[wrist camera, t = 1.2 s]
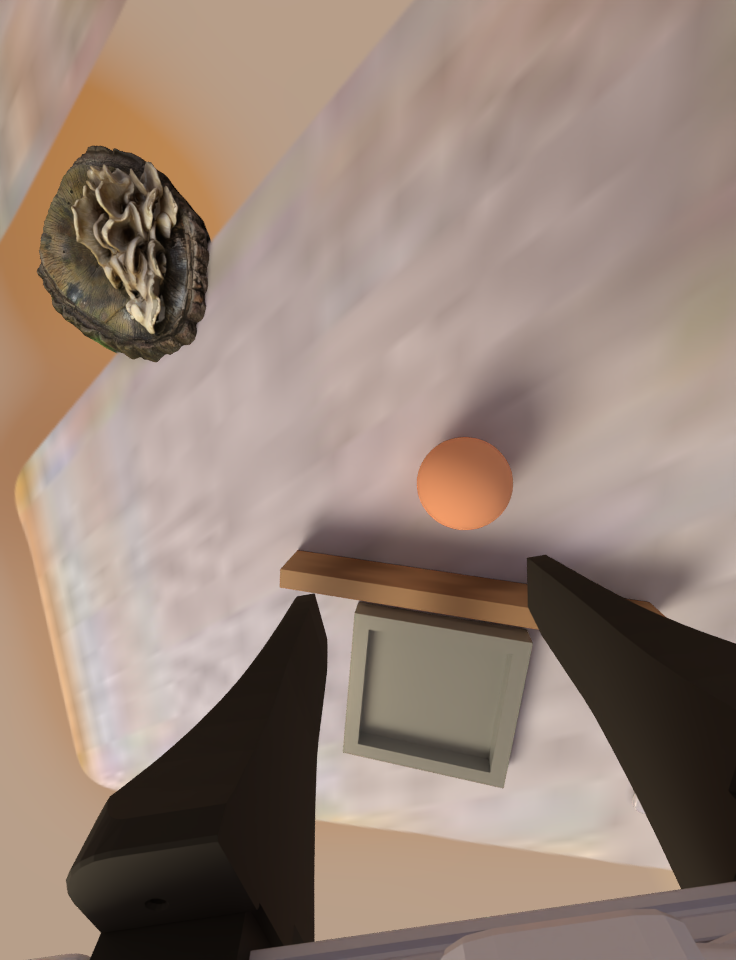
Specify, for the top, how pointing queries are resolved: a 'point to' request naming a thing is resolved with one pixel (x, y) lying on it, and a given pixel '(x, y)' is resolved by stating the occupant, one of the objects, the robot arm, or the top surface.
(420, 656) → the tray
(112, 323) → the log
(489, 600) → the wooden plank
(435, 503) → the ball
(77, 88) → the top surface
